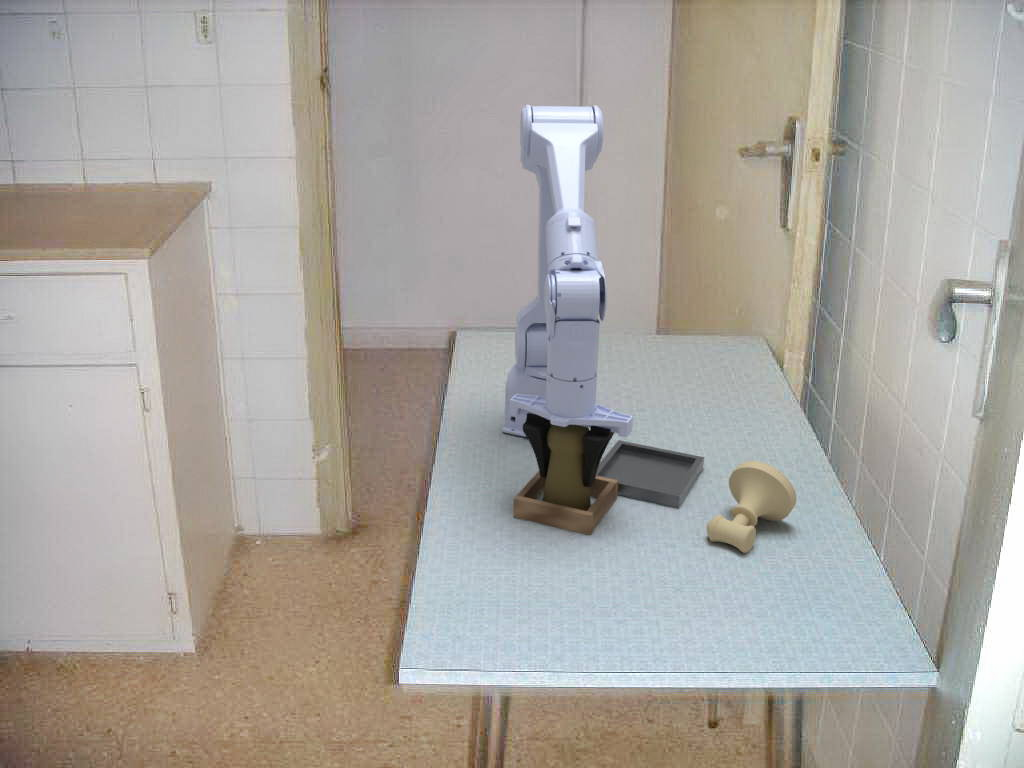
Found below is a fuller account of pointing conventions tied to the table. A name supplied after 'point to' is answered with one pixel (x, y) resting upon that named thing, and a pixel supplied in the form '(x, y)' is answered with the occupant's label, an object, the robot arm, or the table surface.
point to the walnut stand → (563, 515)
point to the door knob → (753, 503)
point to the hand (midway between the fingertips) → (567, 478)
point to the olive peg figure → (566, 468)
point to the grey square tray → (651, 472)
